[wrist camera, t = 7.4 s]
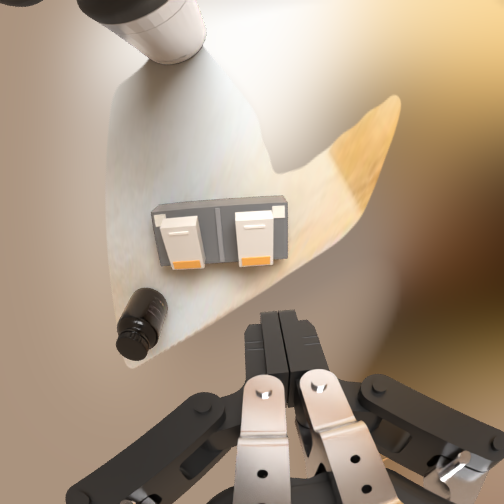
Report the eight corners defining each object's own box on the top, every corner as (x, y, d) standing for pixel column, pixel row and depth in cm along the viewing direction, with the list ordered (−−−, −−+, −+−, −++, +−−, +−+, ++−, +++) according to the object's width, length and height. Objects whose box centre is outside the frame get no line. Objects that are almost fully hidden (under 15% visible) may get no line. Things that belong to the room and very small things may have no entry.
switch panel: (158, 204, 39) (150, 213, 35) (282, 195, 39) (287, 202, 35) (167, 254, 42) (160, 267, 38) (283, 246, 42) (288, 259, 38)
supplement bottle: (145, 322, 47) (126, 369, 36) (125, 293, 45) (99, 337, 34) (176, 312, 46) (161, 361, 36) (155, 280, 44) (134, 326, 33)
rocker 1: (163, 218, 33) (159, 229, 31) (197, 215, 33) (195, 226, 31) (174, 259, 38) (172, 270, 36) (205, 257, 38) (204, 269, 36)
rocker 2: (235, 212, 33) (235, 221, 32) (271, 210, 33) (273, 219, 32) (239, 257, 38) (239, 267, 36) (271, 255, 38) (273, 265, 36)
